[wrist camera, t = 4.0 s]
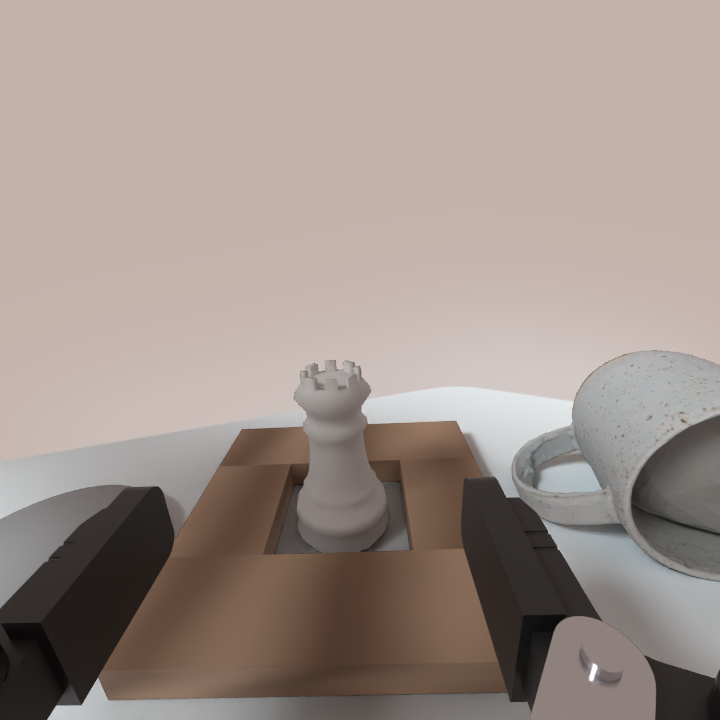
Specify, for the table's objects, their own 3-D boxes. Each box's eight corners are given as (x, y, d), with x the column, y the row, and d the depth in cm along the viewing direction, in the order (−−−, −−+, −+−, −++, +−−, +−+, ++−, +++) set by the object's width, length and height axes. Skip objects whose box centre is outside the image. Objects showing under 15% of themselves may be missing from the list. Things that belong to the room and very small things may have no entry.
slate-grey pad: (-192, 687, 12) (-206, 672, 12) (35, 499, 21) (30, 488, 20) (73, 682, 12) (65, 666, 12) (193, 494, 20) (190, 482, 20)
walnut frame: (108, 700, 11) (95, 670, 11) (245, 447, 25) (241, 429, 24) (563, 691, 11) (570, 660, 11) (455, 439, 24) (456, 420, 24)
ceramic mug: (695, 462, 21) (732, 331, 18) (844, 598, 13) (942, 407, 11) (498, 453, 23) (506, 335, 20) (530, 566, 15) (549, 400, 13)
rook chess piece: (388, 565, 16) (382, 392, 13) (285, 560, 16) (258, 393, 13) (391, 493, 20) (386, 352, 17) (309, 491, 20) (293, 353, 18)
